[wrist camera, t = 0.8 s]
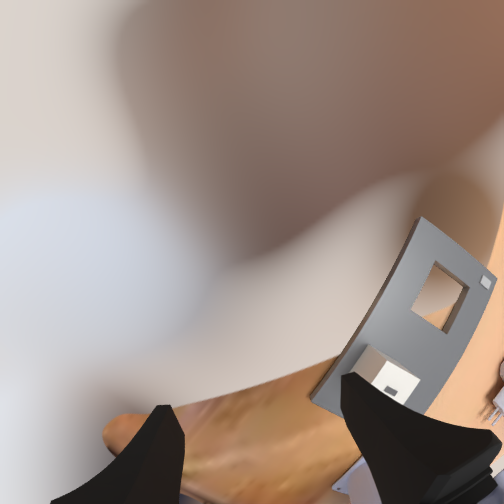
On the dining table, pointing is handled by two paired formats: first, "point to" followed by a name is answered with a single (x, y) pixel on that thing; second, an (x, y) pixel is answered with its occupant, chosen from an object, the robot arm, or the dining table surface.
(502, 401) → the charger
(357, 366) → the charger
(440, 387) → the socket board
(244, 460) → the dining table surface
